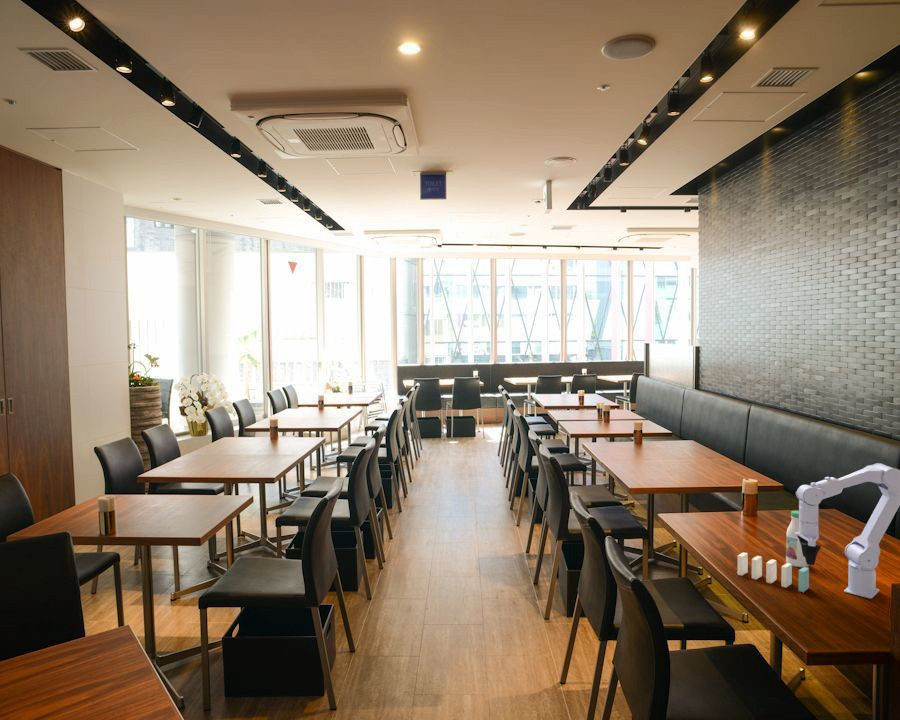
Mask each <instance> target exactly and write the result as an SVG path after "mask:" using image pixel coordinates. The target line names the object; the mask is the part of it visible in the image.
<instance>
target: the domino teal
mask: <svg viewBox="0 0 900 720" xmlns="http://www.w3.org/2000/svg"><path fill="white" fill-rule="evenodd" d="M809 585H810V568H809V567H801V568H800V569H799V570H798V592H800V593H801V592H802V593H805V592H806V591H807V590H808V589H809V587H810V586H809Z"/></svg>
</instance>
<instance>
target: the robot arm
mask: <svg viewBox="0 0 900 720" xmlns="http://www.w3.org/2000/svg"><path fill="white" fill-rule="evenodd" d="M867 482H869V483H874V484H876V485H877V486H878V489H879V490H880V492H881V494H882V495H881V497H880V498H879V501H878V503H877V504H876V506H875V508H874V510H873V511H872V513H871V515H870V518H869V519H868V520H867V523H866V524H865V526H864V528H863V530H862V532H861V533H860V535H858V536H855V537H853V540H852V541H851V542H850V543H848V544H847V545H846V546H845V549H844V554H845V556H846V558H847V559H848V569H847V571H848V580H847V581H848V582H847V583H848V586H847V587H846V588H845V589H844V591H843V592H844V593H847V594H851V595H854V596H860V597H862V598H867V599H871V600H872V599H873V598H874V597H875V596H876V595H877V594H878V593H879V592H880V589H878V588H877V587H876V586H877V584H876V583H877V572H876V568H877V566H878V564H879V559H880V557H879V556H880V555H881V549H880V545H879V544H880V543H881V540H882V539H883V537H884V536H885V535H884V534H885V533H886V532H887V530H888V527H889V526H890V524H891V522H892V520H893V519H894V516H895V514H896V512H897V511H898V509H899V508H900V469H898V468H895V467H894V468H893V467H892V466H890V465H889V466H888V465H886V464H884V463H880V462H877V463H874V464H870V465H866V466H865V467H863V468H862V469H859V470H856V471H854V472H852V473H850V474H847V475H844V476H842V477H838V478H836V477H834V476H830V477H829V476H826V477H824V479H822V480H819V481H816V482H810V484H802V485H800V486H799V487H798V488H797V490H796V491H795V495H796V498H797V499H798V511H799V532H795V535H797V537H798V538H799V541H800V544H801V548H802V553H803V557H805V559H806V563H807V565H809V566H815V563H816V560H817V555H818V553H819V551H820V550H821V548H822V546H821V545H820V544H817V543H816V542H817V541H818V539H819V538H820V535H819V505H820V504H821V502H822V501H823V500H825V499H827V498H831V497H834V496H836V495H839V494H840V495H841V493H842V491H843V489H846V488H849V487H853V486H856V485H861V484H863V483H867Z"/></svg>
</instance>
